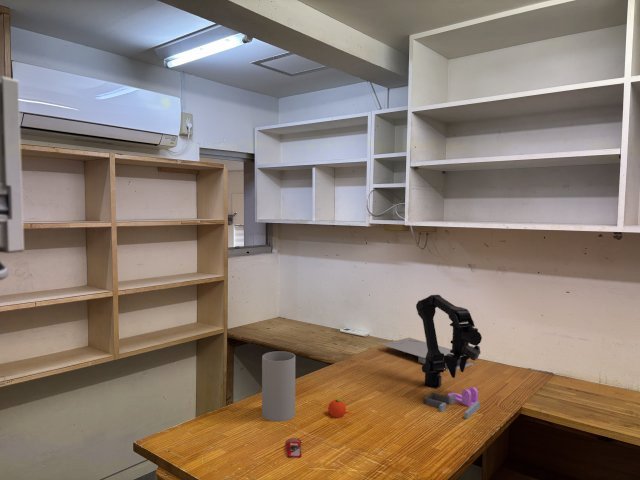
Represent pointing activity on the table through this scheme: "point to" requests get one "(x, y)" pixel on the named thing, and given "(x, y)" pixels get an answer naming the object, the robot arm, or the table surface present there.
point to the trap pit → (433, 397)
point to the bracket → (466, 396)
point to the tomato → (337, 408)
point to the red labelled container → (293, 448)
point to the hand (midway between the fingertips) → (457, 374)
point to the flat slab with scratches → (417, 349)
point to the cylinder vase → (278, 386)
